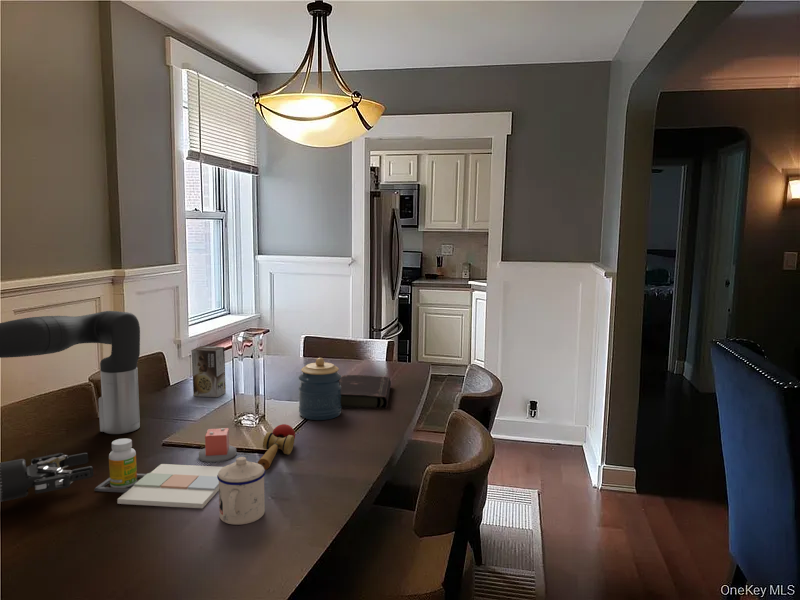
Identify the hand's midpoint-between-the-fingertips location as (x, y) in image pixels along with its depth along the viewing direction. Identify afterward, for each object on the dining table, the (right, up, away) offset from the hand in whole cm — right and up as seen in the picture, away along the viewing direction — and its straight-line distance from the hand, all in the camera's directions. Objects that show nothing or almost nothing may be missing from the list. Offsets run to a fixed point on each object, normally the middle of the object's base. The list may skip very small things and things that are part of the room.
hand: (90, 464), depth 123 cm
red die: (+21, -4, +21) cm, 30 cm away
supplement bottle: (+5, -6, +4) cm, 9 cm away
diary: (+53, +1, +73) cm, 90 cm away
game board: (+14, -6, +3) cm, 16 cm away
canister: (+42, 0, +54) cm, 68 cm away
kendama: (+35, -4, +21) cm, 41 cm away
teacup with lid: (+35, -8, -10) cm, 37 cm away
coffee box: (+1, +3, +73) cm, 73 cm away
